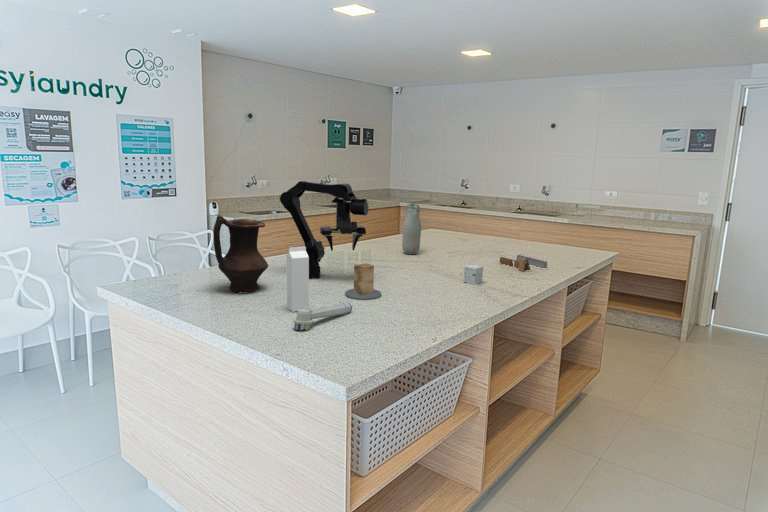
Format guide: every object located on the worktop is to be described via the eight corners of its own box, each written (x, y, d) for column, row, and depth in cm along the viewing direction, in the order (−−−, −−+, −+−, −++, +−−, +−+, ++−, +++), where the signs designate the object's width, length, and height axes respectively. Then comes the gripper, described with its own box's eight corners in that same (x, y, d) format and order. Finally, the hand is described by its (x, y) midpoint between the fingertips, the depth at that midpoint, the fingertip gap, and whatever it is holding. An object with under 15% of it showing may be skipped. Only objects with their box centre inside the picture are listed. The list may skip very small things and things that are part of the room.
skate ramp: (560, 271, 254) (562, 256, 253) (511, 278, 236) (512, 262, 234) (516, 259, 278) (517, 246, 277) (468, 265, 260) (469, 251, 258)
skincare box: (463, 282, 223) (464, 266, 221) (470, 280, 227) (471, 264, 226) (474, 285, 219) (476, 268, 217) (482, 283, 223) (483, 266, 222)
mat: (349, 300, 190) (349, 298, 190) (341, 291, 203) (341, 289, 203) (385, 298, 194) (385, 296, 194) (375, 289, 207) (375, 287, 207)
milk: (308, 310, 177) (309, 247, 173) (292, 312, 174) (292, 249, 170) (302, 305, 182) (303, 244, 178) (286, 307, 179) (286, 245, 175)
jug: (253, 281, 214) (251, 209, 208) (277, 290, 201) (276, 214, 195) (204, 289, 199) (201, 212, 193) (227, 299, 186) (225, 218, 180)
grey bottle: (400, 255, 278) (402, 203, 273) (403, 251, 288) (405, 202, 282) (418, 256, 277) (421, 204, 271) (420, 252, 286) (423, 202, 281)
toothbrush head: (354, 302, 175) (303, 309, 154) (352, 322, 175) (301, 331, 155) (342, 300, 178) (291, 306, 157) (340, 318, 178) (289, 327, 158)
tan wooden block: (353, 292, 199) (354, 264, 196) (364, 290, 202) (364, 263, 200) (362, 295, 195) (363, 267, 192) (373, 293, 198) (373, 265, 196)
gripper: (324, 216, 204) (324, 254, 207) (369, 216, 209) (368, 253, 213) (319, 213, 214) (319, 249, 217) (362, 213, 220) (362, 248, 223)
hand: (342, 250), depth 217 cm, fingers open, 9 cm apart
